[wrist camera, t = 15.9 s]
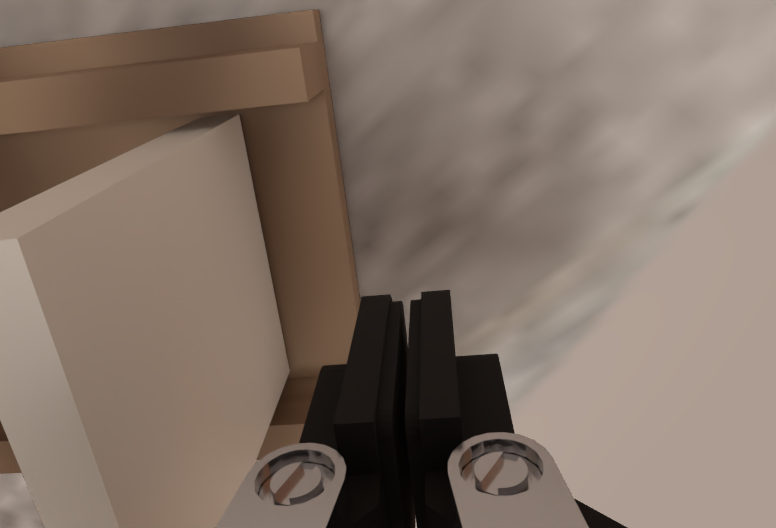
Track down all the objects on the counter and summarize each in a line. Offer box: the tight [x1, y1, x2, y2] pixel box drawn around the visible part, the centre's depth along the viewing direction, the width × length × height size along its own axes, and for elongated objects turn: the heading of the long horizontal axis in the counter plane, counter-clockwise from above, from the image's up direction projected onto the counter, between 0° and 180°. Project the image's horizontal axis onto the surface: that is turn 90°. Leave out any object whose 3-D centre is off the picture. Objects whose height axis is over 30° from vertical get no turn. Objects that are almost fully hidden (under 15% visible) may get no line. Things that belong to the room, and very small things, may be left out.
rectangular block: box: [0, 114, 290, 528], centre depth 14 cm, size 1×8×10 cm, turn 6°
